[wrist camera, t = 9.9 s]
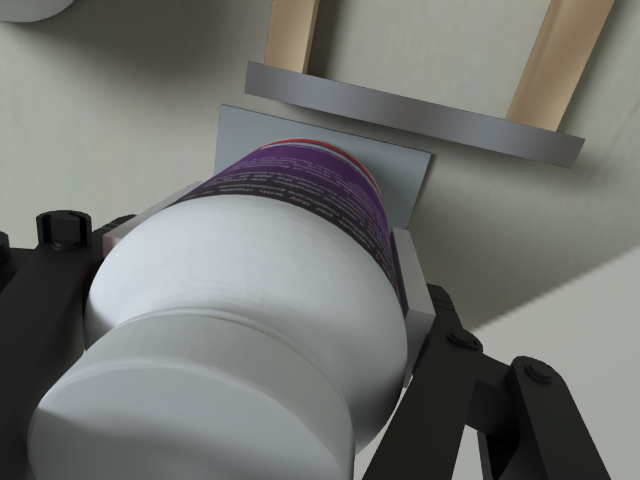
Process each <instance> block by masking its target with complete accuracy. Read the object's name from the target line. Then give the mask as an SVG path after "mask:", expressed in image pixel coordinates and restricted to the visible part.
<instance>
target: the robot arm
mask: <svg viewBox="0 0 640 480" xmlns="http://www.w3.org/2000/svg"><path fill="white" fill-rule="evenodd" d="M203 183H204V182H201V181H196V182H194V183H193V184H191V185H189V186H187V187H186V188H184V189H182V190H181V191H179V192H177V193H175V194H174V195H172V196H170V197H168V198H167V199H165V200H163V201H161V202H160V203H158V204H156V205H154V206H153V207H151V208H149V209H148V210H146V211H144V212H142V213H141V214H139V215H134V214H131V215H127V216H123V217H119V218H117V219H115V220H113V221H111V222H110V223H109V224H106V225H104V226H102V228H99V229H97V230H95V231H93V232H92V225H91V217H90V216H89V215H88V214H85V213H83V212H79V211H72V210H57V211H49V212H46V213H42V214H40V215H39V216H37V217H36V222H37V232H38V242H39V244H38V245H37V247H36V248H35V249H24V248H10V246H9V239H8V235H7V234H5V233H4V232H1V231H0V480H36V479H35V476H34V474H33V471H32V468H31V465H30V462H29V459H28V448H27V436H28V428H29V425H30V422H31V419H32V416H33V413H34V411H35V410H36V408H37V406H38V405H39V403H40V401H41V400H42V398H43V397H44V396H45V394H46V393H47V392H48V391H49V390H50V389H51V388H52V386H53V385H54V384H55V383H56V382H57V381H58V380H59V379H60V378H61V377H62V376H63V375H64V374H65V373H66V372H67V371H68V370H69V369H70V368H71V367H72V366H73V365H74V364H75V363H76V362H77V361H78V360H79V359H80V358H81V357H82V355H83V352H84V349H85V341H84V314H85V308H86V302H87V299H88V295H89V291H90V288H91V286H92V283H93V280H94V278H95V276H96V274H97V272H98V270H99V268H100V266H101V265H102V263H103V262H104V260H105V259H106V257H107V256H108V254H109V253H110V252H111V250H112V249H113V248H114V247H115V246H116V245H117V244H118V243H119V242H120V241H121V240H122V239H123V238H124V237H125V236H126V235H127V234H128V233H129V232H130V231H132V230H133V229H134V228H136V227H137V226H138V225H140V224H141V223H143V222H144V221H145V220H146V219H148V218H149V217H151V216H152V215H154V214H156V213H157V212H159V211H160V210H162V209H163V208H165V207H166V206H168V205H170V204H172V203H173V202H175V201H176V200H178V199H179V198H181V197H183V196H184V195H186V194H187V193H189V192H190V191H192V190H194V189H195V188H197V187H198V186H200V185H201V184H203ZM389 237H390V244H391V250H392V256H393V261H394V267H395V273H396V279H397V284H398V290H399V295H400V300H401V306H402V311H403V317H404V322H405V330H406V336H407V369H406V376H405V380H404V384H403V388H407V386H408V384H409V381H410V379H411V376H412V374H413V378H412V380H411V382H410V384H409V386H408V388H407V390H406V393H405V394H404V396H403V398H402V400H401V402H400V404H399V406H398V408H397V410H396V412H395V414H394V416H393V418H392V420H391V422H390V424H389V426H388V428H387V430H386V432H385V434H384V436H383V439H382V440H381V442H380V444H379V446H378V448H377V450H376V452H375V454H374V456H373V458H372V460H371V462H370V464H369V466H368V468H367V470H366V472H365V474H364V476H363V478H362V480H451V479H452V475H453V471H454V467H455V463H456V459H457V455H458V451H459V447H460V442H461V438H462V434H463V430H464V426H465V424H466V425H468V426H470V427H472V428H474V429H476V430H477V436H478V444H479V451H480V459H481V467H482V474H483V480H611V478H610V476H609V474H608V472H607V470H606V468H605V466H604V463H603V461H602V459H601V457H600V455H599V453H598V451H597V449H596V446H595V444H594V442H593V440H592V438H591V436H590V434H589V432H588V429H587V428H586V425H585V423H584V421H583V419H582V417H581V415H580V413H579V410H578V408H577V406H576V404H575V402H574V400H573V398H572V396H571V394H570V391H569V389H568V387H567V385H566V383H565V381H564V380H563V378H562V377H561V376H560V375H559V374H558V373H557V372H556V371H555V370H554V369H553V368H552V367H550V366H549V365H546V363H544V362H542V361H539V360H537V359H534V358H531V357H526V356H517V357H516V358H515V359H514V360H513V361H512V363H511V365H510V366H509V365H506V364H504V363H502V362H499V361H497V360H495V359H493V358H491V357H488V356H487V355H485V354H483V345H482V344H481V342H480V341H479V340H478V339H477V338H476V337H475V336H474V335H473V334H471V333H470V332H468V331H466V330H464V329H463V327H462V325H461V323H460V320H459V318H458V315H457V313H456V312H455V308H454V306H453V305H452V304H453V303H452V301H451V298H450V296H449V294H448V293H447V292H446V291H445V290H444V289H443V288H442V287H440V286H436V285H432V284H428V283H426V282H425V279H424V276H423V273H422V270H421V266H420V263H419V260H418V257H417V254H416V251H415V248H414V244H413V241H412V238H411V235H410V232H409V231H408V230H404V229H400V228H396V227H392V229H391V232H390V236H389Z"/></svg>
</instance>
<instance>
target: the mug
mask: <svg viewBox="0 0 640 480" xmlns="http://www.w3.org/2000/svg"><path fill="white" fill-rule="evenodd" d="M73 1H74V0H0V21H10V22H32V21H39V20H42V19H45V18H49V17H51V16H53V15H55V14H57V13H59V12H61V11H62V10H64V9H65V8H66V7H68V6H69V5H70V4H71V3H72V2H73Z"/></svg>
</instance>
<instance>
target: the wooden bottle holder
mask: <svg viewBox="0 0 640 480" xmlns="http://www.w3.org/2000/svg"><path fill="white" fill-rule="evenodd" d="M319 2H320V0H273V1H272V8H271V15H270V23H269V30H268V37H267V45H266V52H265V59H264V64H259V63H254V62H249V61H248V69H247V78H246V86H245V93H246V94H251V95H255V96H259V97H264V98H268V99H272V100H277V101H281V102H285V103H290V104H294V105H298V106H303V107H307V108H311V109H315V110H320V111H324V112H328V113H333V114H337V115H341V116H346V117H350V118H354V119H359V120H363V121H367V122H372V123H376V124H380V125H385V126H389V127H393V128H398V129H402V130H406V131H410V132H415V133H419V134H423V135H428V136H432V137H436V138H441V139H445V140H449V141H454V142H458V143H462V144H467V145H471V146H475V147H480V148H484V149H488V150H492V151H497V152H501V153H505V154H510V155H514V156H518V157H523V158H527V159H531V160H536V161H540V162H544V163H549V164H553V165H557V166H562V167H566V168H570V169H571V168H572V166H573V164H574V162H575V160H576V158H577V156H578V154H579V152H580V150H581V148H582V146H583V144H584V142H585V140H586V139H584V138H580V137H575V136H571V135H567V134H563V133H559V132H556V130H557V127H558V125H559V123H560V121H561V119H562V116H563V114H564V112H565V110H566V107H567V105H568V103H569V101H570V98H571V96H572V94H573V92H574V90H575V87H576V85H577V83H578V81H579V78H580V76H581V74H582V72H583V70H584V67H585V65H586V63H587V61H588V58H589V56H590V54H591V52H592V49H593V47H594V45H595V43H596V41H597V38H598V36H599V34H600V32H601V29H602V27H603V25H604V23H605V20H606V18H607V16H608V14H609V12H610V9H611V7H612V5H613V3H614V0H552V1H551V4H550V6H549V9H548V11H547V14H546V16H545V19H544V22H543V24H542V27H541V29H540V32H539V34H538V37H537V39H536V42H535V45H534V47H533V50H532V52H531V55H530V57H529V60H528V62H527V65H526V68H525V70H524V73H523V75H522V78H521V80H520V83H519V85H518V88H517V91H516V93H515V96H514V98H513V101H512V103H511V106H510V108H509V111H508V114H507V116H506V119H505V120H503V119H499V118H495V117H490V116H486V115H482V114H477V113H473V112H469V111H464V110H460V109H456V108H451V107H447V106H443V105H438V104H434V103H429V102H425V101H421V100H416V99H412V98H408V97H403V96H399V95H395V94H390V93H386V92H382V91H377V90H373V89H369V88H364V87H360V86H356V85H351V84H347V83H343V82H338V81H334V80H330V79H325V78H321V77H317V76H312V75H308V74H307V69H308V63H309V58H310V52H311V46H312V41H313V35H314V30H315V24H316V19H317V13H318V7H319Z"/></svg>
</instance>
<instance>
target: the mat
mask: <svg viewBox="0 0 640 480" xmlns="http://www.w3.org/2000/svg"><path fill="white" fill-rule="evenodd" d="M295 137H305V138H315V139H319V140H323V141H327V142H329V143H332V144H334V145H337V146H339V147H341V148H343V149H344V150H346V151H347V152H349V153H350V154H352V155H353V156H354V157H355V158H357V159H358V160H359V161H360V162H361V163H362V164H363V165H364V166H365V167H366V169H367V170H368V171H369V172H370V174H371V175H372V177H373V178H374V180H375V182H376V184H377V186H378V188H379V190H380V193H381V196H382V199H383V203H384V207H385V211H386V218H387V224H388V231H389V236H390V232H391V229H392V227H396V228H400V229H404V230H407V226H408V223H409V220H410V217H411V214H412V211H413V208H414V205H415V202H416V199H417V196H418V193H419V190H420V187H421V184H422V181H423V178H424V175H425V172H426V168H427V165H428V162H429V159H430V156H431V153H430V152H426V151H422V150H418V149H413V148H409V147H405V146H401V145H396V144H392V143H388V142H383V141H379V140H375V139H370V138H366V137H362V136H358V135H353V134H349V133H345V132H340V131H336V130H332V129H327V128H323V127H319V126H314V125H310V124H306V123H302V122H297V121H293V120H289V119H284V118H280V117H276V116H271V115H267V114H263V113H259V112H254V111H250V110H246V109H241V108H237V107H233V106H228V105H224V104H222V105H220V115H219V125H218V136H217V146H216V156H215V166H214V176H215V175H217V174H219V173H220V172H222V171H223V170H225V169H226V168H228V167H229V166H231V165H233V164H234V163H236V162H237V161H239V160H241V159H242V158H244V157H245V156H247V155H248V154H250V153H251V152H253V151H254V150H256V149H258V148H260V147H262V146H264V145H266V144H268V143H271V142H274V141H277V140H281V139H287V138H295ZM214 176H213V177H214Z"/></svg>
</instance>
